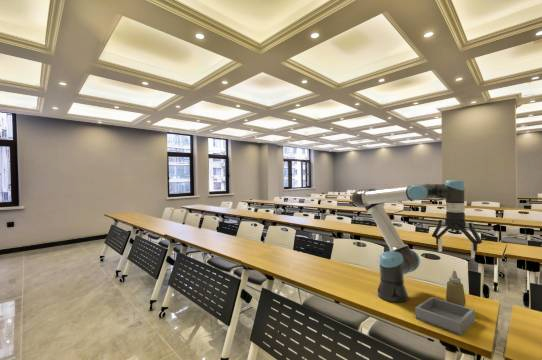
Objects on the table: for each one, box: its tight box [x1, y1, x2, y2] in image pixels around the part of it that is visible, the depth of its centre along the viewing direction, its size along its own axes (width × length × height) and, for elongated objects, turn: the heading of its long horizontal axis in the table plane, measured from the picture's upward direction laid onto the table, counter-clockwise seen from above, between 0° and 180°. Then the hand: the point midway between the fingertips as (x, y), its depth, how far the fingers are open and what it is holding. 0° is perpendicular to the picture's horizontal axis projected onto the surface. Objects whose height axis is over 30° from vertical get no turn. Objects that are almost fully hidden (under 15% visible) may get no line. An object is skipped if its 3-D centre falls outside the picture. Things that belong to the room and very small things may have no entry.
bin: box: [414, 296, 476, 337], centre depth 116 cm, size 17×17×5 cm
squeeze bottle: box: [445, 270, 467, 307], centre depth 126 cm, size 8×8×18 cm
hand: (455, 254), depth 126 cm, fingers open, 13 cm apart
